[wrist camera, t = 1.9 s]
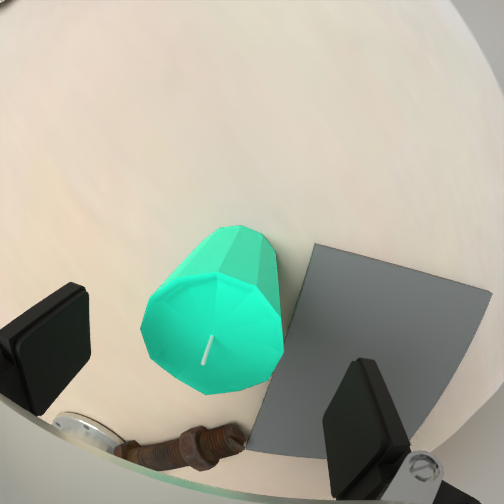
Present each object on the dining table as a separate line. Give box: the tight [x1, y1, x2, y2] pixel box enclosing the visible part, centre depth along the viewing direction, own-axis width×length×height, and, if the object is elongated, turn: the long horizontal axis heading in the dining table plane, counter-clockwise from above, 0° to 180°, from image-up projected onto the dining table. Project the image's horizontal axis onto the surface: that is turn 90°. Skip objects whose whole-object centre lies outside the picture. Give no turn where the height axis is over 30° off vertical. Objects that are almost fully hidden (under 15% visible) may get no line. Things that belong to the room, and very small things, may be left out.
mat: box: [245, 243, 493, 459], centre depth 24 cm, size 22×18×1 cm
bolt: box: [113, 424, 246, 471], centre depth 25 cm, size 6×5×15 cm
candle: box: [140, 225, 284, 395], centre depth 16 cm, size 6×6×12 cm
